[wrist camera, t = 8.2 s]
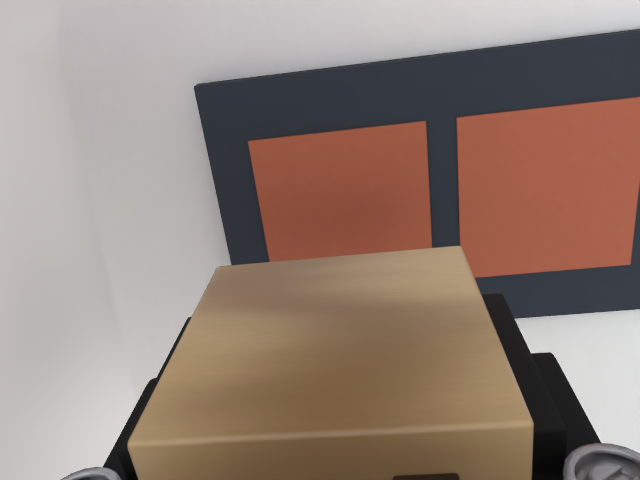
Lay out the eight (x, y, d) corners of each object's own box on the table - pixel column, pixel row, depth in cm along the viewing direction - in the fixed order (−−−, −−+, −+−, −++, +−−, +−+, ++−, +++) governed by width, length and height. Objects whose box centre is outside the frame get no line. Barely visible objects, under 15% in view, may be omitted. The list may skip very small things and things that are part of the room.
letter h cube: (257, 448, 13) (201, 703, 9) (216, 265, 11) (113, 463, 7) (467, 438, 13) (532, 703, 8) (462, 243, 11) (543, 441, 6)
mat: (698, 21, 17) (709, 22, 17) (659, 300, 21) (667, 308, 21) (197, 83, 19) (192, 86, 18) (249, 332, 23) (246, 341, 22)
